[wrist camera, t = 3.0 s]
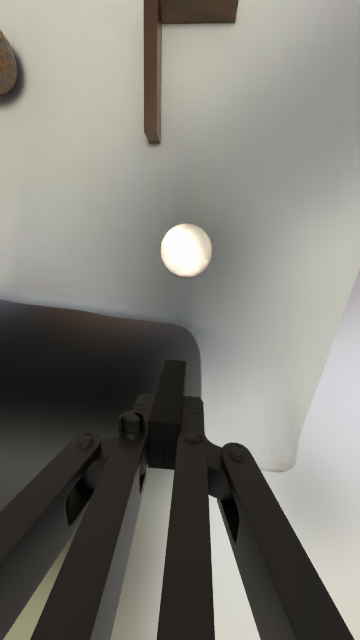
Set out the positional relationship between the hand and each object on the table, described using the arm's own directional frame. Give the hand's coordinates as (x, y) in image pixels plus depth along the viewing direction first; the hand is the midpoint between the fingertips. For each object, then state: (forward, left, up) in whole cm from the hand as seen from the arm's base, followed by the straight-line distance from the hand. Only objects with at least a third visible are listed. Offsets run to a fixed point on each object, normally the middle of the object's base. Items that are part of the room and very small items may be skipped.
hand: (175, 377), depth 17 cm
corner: (+1, -29, -20) cm, 36 cm away
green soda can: (0, -9, -21) cm, 22 cm away
